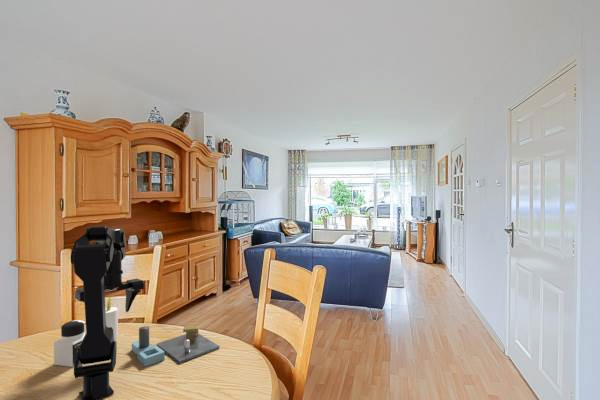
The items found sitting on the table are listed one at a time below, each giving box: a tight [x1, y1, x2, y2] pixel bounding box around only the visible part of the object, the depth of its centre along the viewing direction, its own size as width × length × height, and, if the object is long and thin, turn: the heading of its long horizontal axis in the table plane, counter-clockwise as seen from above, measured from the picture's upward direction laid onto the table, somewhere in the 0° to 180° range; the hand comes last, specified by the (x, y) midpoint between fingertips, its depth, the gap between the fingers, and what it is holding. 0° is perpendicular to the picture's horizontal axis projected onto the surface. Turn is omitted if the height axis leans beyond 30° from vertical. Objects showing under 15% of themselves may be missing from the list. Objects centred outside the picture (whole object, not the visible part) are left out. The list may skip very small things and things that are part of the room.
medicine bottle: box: [53, 319, 86, 368], centre depth 101 cm, size 7×7×12 cm
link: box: [131, 325, 166, 367], centre depth 105 cm, size 14×6×8 cm, turn 46°
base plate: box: [156, 322, 220, 365], centre depth 110 cm, size 17×14×5 cm
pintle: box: [185, 339, 190, 353], centre depth 105 cm, size 2×2×5 cm
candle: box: [105, 297, 119, 341], centre depth 116 cm, size 6×6×15 cm
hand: (111, 315), depth 105 cm, fingers open, 9 cm apart
